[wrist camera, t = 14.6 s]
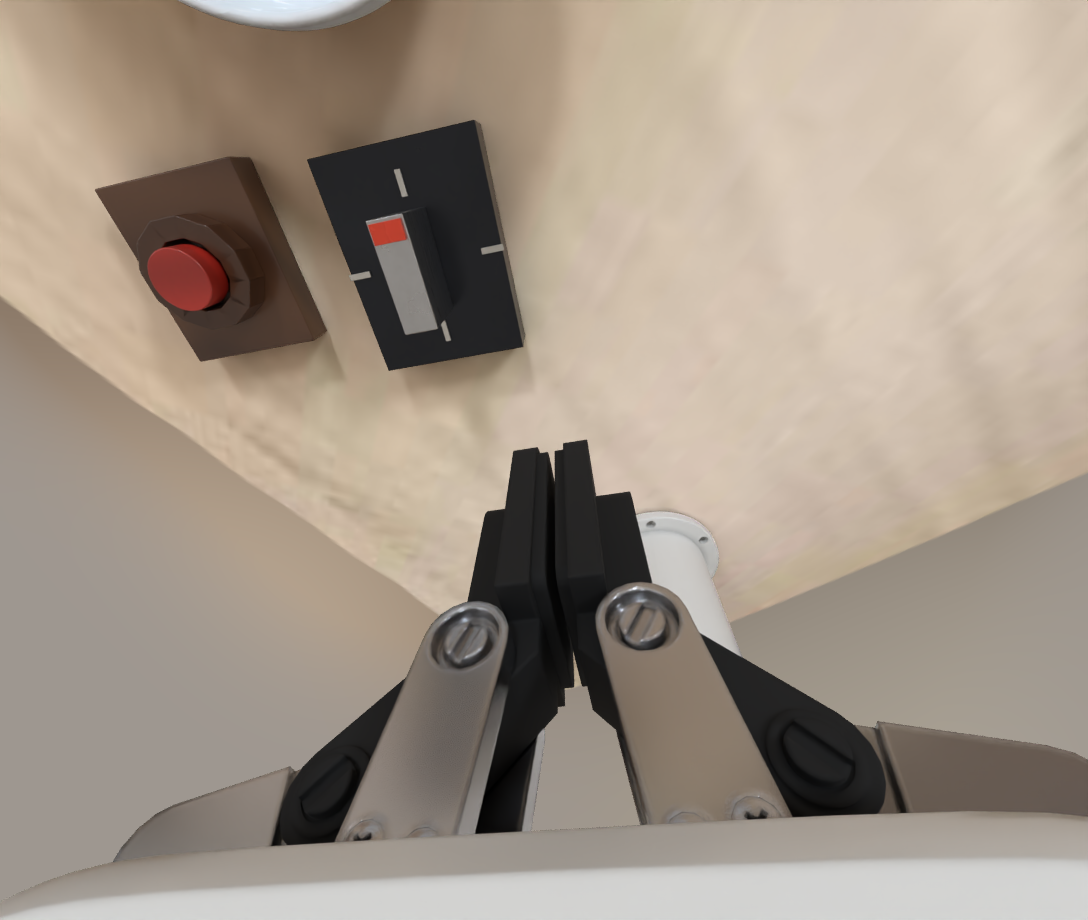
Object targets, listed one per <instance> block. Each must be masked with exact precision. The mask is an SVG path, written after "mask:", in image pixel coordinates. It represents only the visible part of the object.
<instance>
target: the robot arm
mask: <svg viewBox="0 0 1088 920" xmlns="http://www.w3.org/2000/svg"><path fill="white" fill-rule="evenodd" d="M718 563H719V552H718V548H717V545H716V543H715V540H714V538H713V537H712V535H711V533H710V532H709V530H708V529H707V528H706V527H705V526H704V525H703V524H701V523H699V522H698V521H696V520H695V519H693V518H690V517H688V516H685V515H683V514H678V513H673V512H661V511H657V512H646V513H642V514H638V515H636V513H635V509H634V505H633V500H632V497H631V493H630V492H623V493H616V494H609V495H602V496H596V493H595V486H594V480H593V474H592V467H591V461H590V455H589V449H588V442H587V440H582V441H575V442H569V443H563V450H558V451H555V481H554V477H553V472H552V467H551V463H550V458H549V454H548V452H545V453H540V452H539V449H538V447H536V448H530V449H523V450H517V451H514V452H513V457H512V464H511V471H510V478H509V485H508V492H507V499H506V506H505V509H501V510H494V511H488V512H487V513H486V514H485V517H484V522H483V527H482V532H481V537H480V542H479V547H478V552H477V557H476V562H475V567H474V572H473V577H472V582H471V587H470V592H469V597H468V602H465V603H462V604H459V605H457V606H454V607H452V608H450V609H449V610H447V611H446V612H444V613H443V614H441V615H440V616H439V617H438V618H437V619H436V620H435V621H434V622H433V623H432V624H431V626H430V628H429V629H428V631H427V632H426V634H425V636H424V638H423V640H422V643H421V645H420V647H419V650H418V652H417V654H416V656H415V659H414V661H413V663H412V666H411V668H410V670H409V672H408V675H407V677H406V678H405V679H404V680H402V681H401V682H400V683H399V684H398V685H397V686H395V687H394V688H393V689H392V690H391V691H389V692H388V693H387V694H386V695H385V696H384V697H382V698H381V699H380V700H379V701H378V702H376V703H375V704H374V705H373V706H372V707H371V708H369V709H368V710H367V711H366V712H365V713H363V714H362V715H361V716H360V717H359V718H358V719H356V720H355V721H354V722H353V723H352V724H351V725H349V726H348V727H347V728H346V729H345V730H343V731H342V732H341V733H340V734H339V735H337V736H336V737H335V738H334V739H333V740H332V741H330V742H329V743H328V744H327V745H326V746H324V747H323V748H322V749H321V750H320V751H319V752H317V753H316V754H315V755H314V756H313V757H312V758H311V759H310V760H309V761H308V762H307V763H306V764H305V766H303V767H302V769H301V770H298V771H294V770H293V769H292V768H291V767H287V768H284V769H281V770H278V771H274V772H271V773H269V774H265V775H263V776H259V777H256V778H253V779H250V780H248V781H244V782H241V783H239V784H235V785H232V786H229V787H226V788H223V789H221V790H217V791H215V792H211V793H208V794H205V795H202V796H199V797H196V798H194V799H190V800H187V801H184V802H181V803H178V804H175V805H173V806H171V807H169V808H167V809H165V810H163V811H161V812H159V813H157V814H155V815H154V816H153V817H152V818H150V820H148V821H147V822H146V823H144V824H143V825H142V826H141V827H139V828H138V829H137V830H136V832H135V833H134V834H133V835H132V836H131V837H130V839H128V841H127V842H126V843H125V844H124V845H123V846H122V847H121V849H120V851H119V853H118V854H117V856H116V857H115V859H114V861H113V862H111V863H107V864H103V865H99V866H95V867H91V868H87V869H83V870H79V871H74V872H71V873H68V874H65V875H63V876H60V877H57V878H54V879H51V880H48V881H45V882H43V883H41V884H38V885H36V886H34V887H31V888H29V889H27V890H24V891H22V892H20V893H17V894H15V895H13V896H11V897H9V898H7V899H4V900H2V901H1V902H0V920H1088V760H1087V759H1085V758H1083V757H1082V756H1079V755H1078V754H1076V753H1073V752H1069V751H1066V750H1062V749H1058V748H1055V747H1051V746H1047V745H1041V744H1033V743H1027V742H1020V741H1013V740H1006V739H999V738H992V737H985V736H978V735H971V734H964V733H957V732H949V731H942V730H935V729H928V728H921V727H914V726H907V725H899V724H893V723H886V722H879V721H877V723H876V726H875V728H873V727H866V726H859V725H853V724H852V723H850V722H849V721H848V720H846V719H845V718H843V717H842V716H841V715H839V714H838V713H837V712H835V711H833V710H832V709H830V708H828V707H826V706H825V705H823V704H821V703H819V702H818V701H816V700H814V699H813V698H811V697H809V696H807V695H806V694H804V693H802V692H801V691H799V690H797V689H796V688H794V687H792V686H790V685H789V684H787V683H785V682H784V681H782V680H780V679H778V678H776V677H775V676H773V675H772V674H770V673H768V672H766V671H765V670H763V669H761V668H759V667H758V666H756V665H754V664H752V663H751V662H749V661H747V660H746V659H744V658H743V657H742V655H741V652H740V649H739V647H738V644H737V642H736V639H735V637H734V634H733V631H732V629H731V626H730V624H729V621H728V619H727V616H726V614H725V611H724V608H723V606H722V603H721V601H720V598H719V596H718V593H717V591H716V588H715V585H714V583H713V580H712V578H713V576H714V575H715V572H716V570H717V568H718ZM573 652H574V656H575V660H576V664H577V668H578V672H579V676H580V680H581V684H582V686H587V687H588V691H589V695H590V699H591V703H592V708H593V710H594V711H595V712H596V713H597V714H598V715H599V716H601V717H602V718H603V719H604V720H605V721H606V722H607V723H609V724H610V725H611V726H612V727H613V728H615V729H616V732H617V737H618V741H619V745H620V749H621V753H622V756H623V760H624V764H625V768H626V772H627V776H628V780H629V783H630V787H631V791H632V795H633V799H634V802H635V806H636V810H637V814H638V818H639V822H640V825H634V826H616V827H597V828H581V829H580V828H579V829H560V830H542V831H531V828H532V822H533V815H534V809H535V803H536V796H537V789H538V783H539V776H540V770H541V763H542V757H543V750H544V744H545V727H546V725H547V724H548V723H549V722H550V721H551V720H552V719H553V717H554V716H555V715H556V714H557V713H558V707H561V706H565V688H572V687H574V664H573Z"/></svg>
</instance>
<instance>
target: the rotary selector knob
mask: <svg viewBox="0 0 1088 920" xmlns="http://www.w3.org/2000/svg"><path fill="white" fill-rule="evenodd" d="M366 224H367V227H368V230H369V233H370V236H371V239H372V241H373V244H374V247H375V250H376V253H377V256H378V258H379V261H380V264H381V267H382V270H383V273H384V275H385V278H386V281H387V284H388V287H389V290H390V292H391V295H392V298H393V301H394V304H395V307H396V309H397V312H398V315H399V318H400V321H401V324H402V326H403V329H404V332H405V334H406V335H409V334H414V333H420V332H425V331H430V330H436V329H438V328H439V327H440V325H441V324H442V322H443V321H444V320H445V318H446V317H447V316H448V314H449V313H450V312H451V310H452V309H453V307H454V306H453V303H452V299H451V296H450V292H449V289H448V285H447V282H446V278H445V275H444V271H443V268H442V264H441V261H440V257H439V254H438V250H437V247H436V243H435V240H434V236H433V233H432V229H431V226H430V222H429V219H428V215H427V212H426V208H425V207H421V208H416V209H412V210H407V211H402V212H398V213H394V214H390V215H386V216H382V217H378V218H374V219H371V220H367V221H366Z"/></svg>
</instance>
